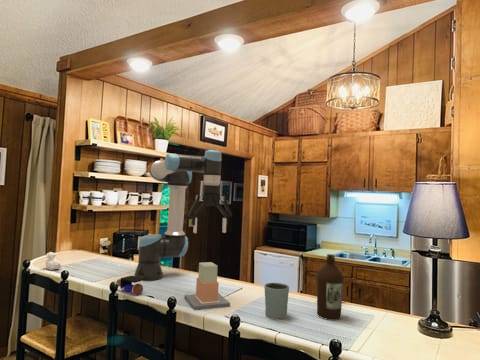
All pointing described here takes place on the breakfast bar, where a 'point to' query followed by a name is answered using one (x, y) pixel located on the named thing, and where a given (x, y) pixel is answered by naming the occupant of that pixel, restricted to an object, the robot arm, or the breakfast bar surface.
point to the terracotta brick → (207, 291)
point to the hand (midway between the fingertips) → (209, 232)
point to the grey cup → (276, 300)
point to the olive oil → (329, 290)
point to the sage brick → (208, 272)
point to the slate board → (198, 305)
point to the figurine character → (127, 284)
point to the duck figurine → (52, 262)
